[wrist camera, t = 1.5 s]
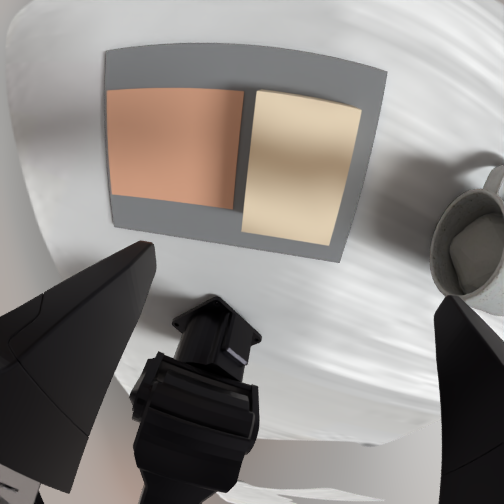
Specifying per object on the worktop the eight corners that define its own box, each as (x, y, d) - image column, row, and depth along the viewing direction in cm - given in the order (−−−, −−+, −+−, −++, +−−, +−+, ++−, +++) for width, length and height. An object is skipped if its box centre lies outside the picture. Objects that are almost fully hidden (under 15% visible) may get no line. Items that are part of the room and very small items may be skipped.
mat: (338, 259, 22) (339, 263, 21) (116, 224, 23) (113, 227, 22) (385, 71, 14) (388, 71, 14) (109, 50, 15) (105, 50, 14)
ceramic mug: (474, 282, 21) (509, 343, 15) (416, 253, 21) (452, 323, 14) (533, 188, 15) (587, 234, 9) (480, 137, 15) (550, 174, 8)
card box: (325, 227, 20) (328, 245, 18) (246, 214, 20) (241, 231, 18) (353, 105, 15) (361, 110, 13) (261, 89, 16) (256, 91, 14)
